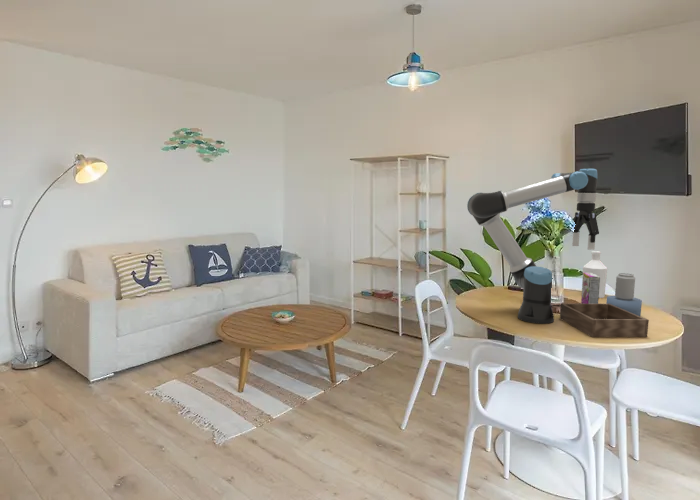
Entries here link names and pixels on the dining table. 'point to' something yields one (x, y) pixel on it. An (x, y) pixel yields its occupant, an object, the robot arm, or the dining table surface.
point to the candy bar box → (590, 288)
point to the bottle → (597, 271)
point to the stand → (626, 304)
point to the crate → (604, 320)
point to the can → (625, 286)
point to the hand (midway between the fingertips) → (582, 247)
